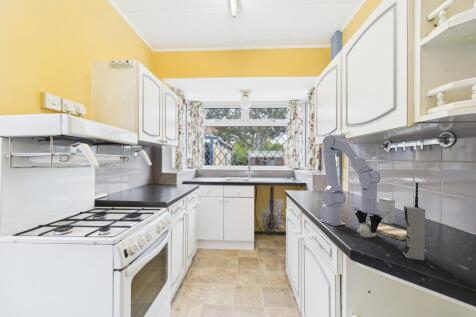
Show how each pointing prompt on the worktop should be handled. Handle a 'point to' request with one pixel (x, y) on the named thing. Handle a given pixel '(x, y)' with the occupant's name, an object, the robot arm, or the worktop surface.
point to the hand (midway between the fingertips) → (368, 230)
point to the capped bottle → (366, 230)
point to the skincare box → (387, 209)
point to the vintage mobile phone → (415, 230)
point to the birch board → (391, 232)
